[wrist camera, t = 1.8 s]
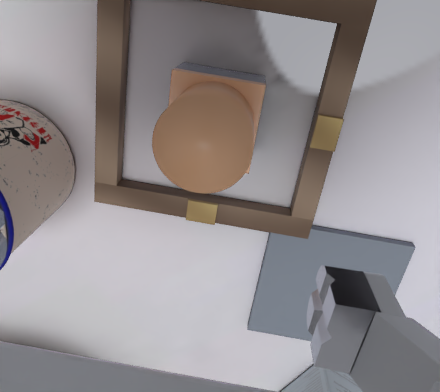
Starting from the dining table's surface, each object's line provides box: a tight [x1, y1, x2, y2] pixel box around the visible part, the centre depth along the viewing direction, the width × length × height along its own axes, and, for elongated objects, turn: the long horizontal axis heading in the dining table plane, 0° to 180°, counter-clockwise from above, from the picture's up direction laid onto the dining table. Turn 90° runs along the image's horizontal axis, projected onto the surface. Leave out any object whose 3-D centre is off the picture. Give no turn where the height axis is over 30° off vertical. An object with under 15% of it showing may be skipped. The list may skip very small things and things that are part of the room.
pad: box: [248, 225, 415, 341], centre depth 30 cm, size 10×10×1 cm
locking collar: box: [94, 0, 377, 239], centre depth 24 cm, size 15×15×2 cm
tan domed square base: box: [152, 68, 266, 193], centre depth 20 cm, size 6×5×5 cm
